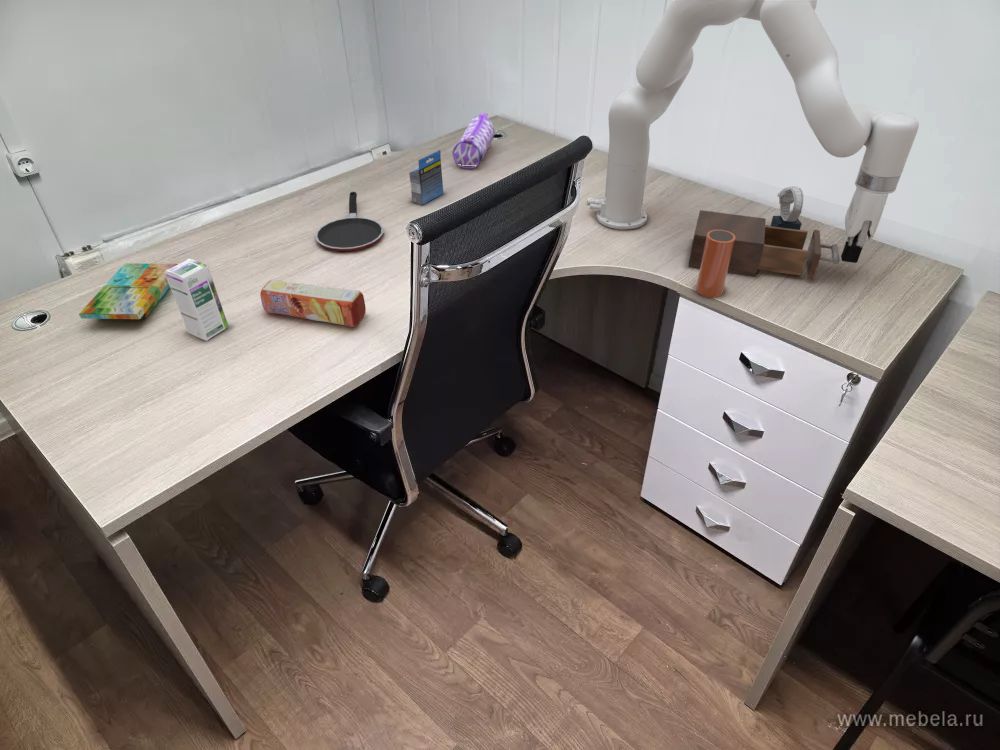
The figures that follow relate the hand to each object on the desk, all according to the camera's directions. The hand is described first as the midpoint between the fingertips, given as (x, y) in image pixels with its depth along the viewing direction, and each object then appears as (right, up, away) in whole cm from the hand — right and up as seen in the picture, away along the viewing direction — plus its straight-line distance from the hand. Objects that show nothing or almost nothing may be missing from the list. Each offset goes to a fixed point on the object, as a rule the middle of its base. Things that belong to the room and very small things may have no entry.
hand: (848, 260), depth 147 cm
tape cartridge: (-95, +23, +36) cm, 104 cm away
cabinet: (-24, +2, +9) cm, 26 cm away
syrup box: (-134, -16, -11) cm, 136 cm away
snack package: (-114, -13, -7) cm, 115 cm away
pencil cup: (-31, -7, -2) cm, 32 cm away
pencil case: (-83, +41, +58) cm, 110 cm away
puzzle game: (-153, -10, -3) cm, 153 cm away
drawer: (-11, 0, +5) cm, 12 cm away
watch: (-6, +10, +19) cm, 22 cm away
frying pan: (-113, +12, +24) cm, 116 cm away
